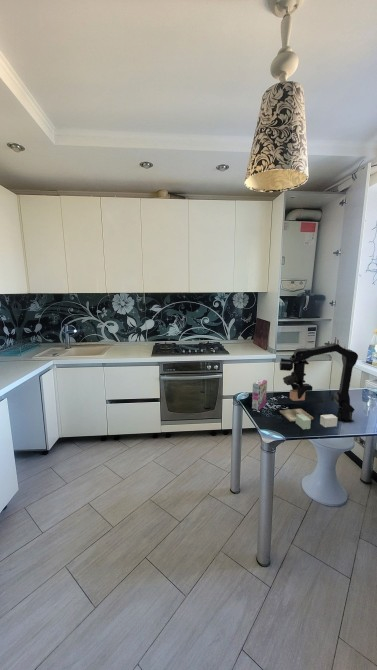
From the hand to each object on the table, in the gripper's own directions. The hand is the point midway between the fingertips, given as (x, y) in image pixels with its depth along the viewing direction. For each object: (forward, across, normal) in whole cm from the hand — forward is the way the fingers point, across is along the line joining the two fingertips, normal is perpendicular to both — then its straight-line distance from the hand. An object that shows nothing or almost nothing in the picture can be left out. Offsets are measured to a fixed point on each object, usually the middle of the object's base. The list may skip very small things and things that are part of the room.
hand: (297, 397), depth 149 cm
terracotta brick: (+1, 0, 0) cm, 1 cm away
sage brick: (+11, +12, -3) cm, 16 cm away
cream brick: (+11, +13, +11) cm, 20 cm away
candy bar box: (+12, -15, -16) cm, 25 cm away
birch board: (+11, 0, 0) cm, 11 cm away
